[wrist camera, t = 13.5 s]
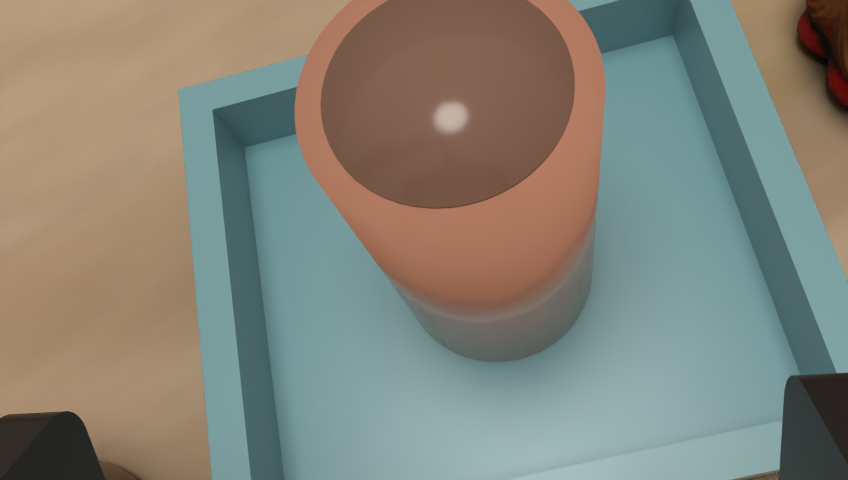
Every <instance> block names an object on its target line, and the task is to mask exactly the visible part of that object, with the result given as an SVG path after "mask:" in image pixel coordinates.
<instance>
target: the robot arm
mask: <svg viewBox="0 0 848 480" xmlns="http://www.w3.org/2000/svg"><path fill="white" fill-rule="evenodd" d="M0 480H106V479H105V477H104V474H103V472H102V469H101V466H100V464H99V461H98V459H97V456H96V453H95V451H94V448H93V445H92V443H91V440H90V438H89V435H88V432H87V430H86V427H85V425H84V423H83V422H82V420H81V419H80V418H79V417H78V416H77V415H76V414H74V413H73V412H69V411H65V412H46V413H27V414H9V415H6V416H3V417H2V418H0ZM779 480H848V373H829V374H810V375H791V376H790V377H789V378H788V379H787V382H786V385H785V390H784V403H783V419H782V436H781V453H780V469H779Z"/></svg>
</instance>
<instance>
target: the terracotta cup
mask: <svg viewBox="0 0 848 480" xmlns="http://www.w3.org/2000/svg"><path fill="white" fill-rule="evenodd" d="M605 91H606V87H605V70H604V66H603V61H602V56H601V52H600V50H599V47H598V44H597V42H596V39H595V37H594V35H593V33H592V31H591V29H590V28H589V26H588V24H587V22H586V21H585V19H584V18H583V17H582V16H581V14H580V13H579V12H578V11H577V9H576V8H575V7H574V6H573V5H572V4H571V3H570V2H569V1H568V0H352V1H351V2H350V3H349V4H348V5H347V6H345V7H344V8H343V9H342V10H341V11H340V12H339V13H338V14H337V15H336V16H335V17H334V18H333V19H332V20H331V22H330V23H329V24H328V25H327V26H326V27H325V29H324V30H323V31H322V33H321V34H320V36H319V37H318V39H317V40H316V41H315V43H314V45H313V47H312V49H311V50H310V52H309V54H308V56H307V58H306V61H305V63H304V66H303V68H302V71H301V74H300V77H299V82H298V86H297V90H296V98H295V108H294V111H295V128H296V133H297V138H298V143H299V146H300V149H301V152H302V155H303V157H304V160H305V162H306V164H307V166H308V168H309V169H310V171H311V173H312V175H313V177H314V178H315V179H316V181H317V182H318V184H319V185H320V186H321V188H322V189H323V190H324V192H325V193H326V195H327V196H328V197H329V199H330V200H331V201H332V203H333V204H334V206H335V207H336V208H337V210H338V211H339V212H340V214H341V215H342V217H343V218H344V219H345V221H346V222H347V223H348V225H349V226H350V228H351V229H352V230H353V232H354V233H355V234H356V236H357V237H358V239H359V240H360V241H361V243H362V244H363V245H364V247H365V248H366V250H367V251H368V252H369V254H370V255H371V257H372V258H373V259H374V261H375V262H376V263H377V265H378V266H379V268H380V269H381V270H382V272H383V273H384V274H385V276H386V277H387V279H388V280H389V281H390V283H391V284H392V285H393V287H394V288H395V290H396V291H397V292H398V294H399V295H400V296H401V298H402V299H403V301H404V302H405V303H406V305H407V306H408V307H409V309H410V310H411V312H412V313H413V314H414V316H415V317H416V318H417V320H418V321H419V323H420V324H421V325H422V327H423V328H424V329H425V331H426V332H427V333H428V334H429V335H430V336H431V337H432V338H433V339H434V340H436V341H437V342H438V343H440V344H441V345H442V346H443V347H445V348H447V349H449V350H450V351H452V352H454V353H456V354H459V355H461V356H464V357H466V358H470V359H474V360H478V361H485V362H507V361H515V360H519V359H523V358H526V357H529V356H532V355H534V354H537V353H539V352H541V351H543V350H545V349H546V348H548V347H550V346H551V345H553V344H554V343H555V342H557V341H558V340H559V339H560V338H562V337H563V336H564V335H565V334H566V333H567V332H568V331H569V330H570V329H571V327H572V326H573V325H574V323H575V322H576V321H577V319H578V318H579V316H580V314H581V312H582V310H583V309H584V306H585V304H586V301H587V299H588V296H589V292H590V287H591V281H592V269H593V256H594V242H595V228H596V214H597V201H598V187H599V173H600V159H601V146H602V132H603V118H604V104H605Z"/></svg>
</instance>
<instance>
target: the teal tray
mask: <svg viewBox="0 0 848 480" xmlns="http://www.w3.org/2000/svg"><path fill="white" fill-rule="evenodd" d="M568 1H569V2H570V3H571V4H572V5H573V6H574V7H575V8H576V9H577V11H578V12H579V13H580V14H581V16H582V17H583V18H584V19H585V21H586V22H587V24H588V26H589V28H590V29H591V31H592V33H593V35H594V37H595V39H596V42H597V44H598V47H599V50H600V52H601V56H602V61H603V66H604V70H605V87H606V91H605V104H604V118H603V132H602V146H601V159H600V173H599V187H598V201H597V214H596V228H595V242H594V256H593V269H592V281H591V287H590V292H589V296H588V299H587V301H586V304H585V306H584V309H583V310H582V312H581V314H580V316H579V318H578V319H577V321H576V322H575V323H574V325H573V326H572V327H571V329H570V330H569V331H568V332H567V333H566V334H565V335H564V336H563V337H562V338H560V339H559V340H558V341H557V342H555V343H554V344H553V345H551V346H550V347H548V348H546V349H545V350H543V351H541V352H539V353H537V354H534V355H532V356H529V357H526V358H523V359H519V360H515V361H507V362H485V361H478V360H474V359H470V358H466V357H464V356H461V355H459V354H456V353H454V352H452V351H450V350H449V349H447V348H445V347H443V346H442V345H441V344H440V343H438V342H437V341H436V340H434V339H433V338H432V337H431V336H430V335H429V334H428V333H427V332H426V331H425V329H424V328H423V327H422V325H421V324H420V323H419V321H418V320H417V318H416V317H415V316H414V314H413V313H412V312H411V310H410V309H409V307H408V306H407V305H406V303H405V302H404V301H403V299H402V298H401V296H400V295H399V294H398V292H397V291H396V290H395V288H394V287H393V285H392V284H391V283H390V281H389V280H388V279H387V277H386V276H385V274H384V273H383V272H382V270H381V269H380V268H379V266H378V265H377V263H376V262H375V261H374V259H373V258H372V257H371V255H370V254H369V252H368V251H367V250H366V248H365V247H364V245H363V244H362V243H361V241H360V240H359V239H358V237H357V236H356V234H355V233H354V232H353V230H352V229H351V228H350V226H349V225H348V223H347V222H346V221H345V219H344V218H343V217H342V215H341V214H340V212H339V211H338V210H337V208H336V207H335V206H334V204H333V203H332V201H331V200H330V199H329V197H328V196H327V195H326V193H325V192H324V190H323V189H322V188H321V186H320V185H319V184H318V182H317V181H316V179H315V178H314V177H313V175H312V173H311V171H310V169H309V168H308V166H307V164H306V162H305V160H304V157H303V155H302V152H301V149H300V146H299V143H298V138H297V133H296V128H295V111H294V108H295V98H296V90H297V86H298V82H299V77H300V74H301V71H302V68H303V66H304V63H305V61H306V58H307V56H308V55H305V56H301V57H297V58H294V59H290V60H286V61H283V62H279V63H275V64H272V65H268V66H264V67H260V68H257V69H253V70H249V71H246V72H242V73H238V74H235V75H231V76H227V77H224V78H220V79H216V80H213V81H209V82H205V83H202V84H198V85H194V86H191V87H187V88H183V89H180V90H178V94H179V105H180V117H181V128H182V140H183V151H184V163H185V175H186V186H187V198H188V209H189V221H190V232H191V244H192V255H193V267H194V278H195V290H196V301H197V313H198V325H199V336H200V348H201V359H202V371H203V382H204V394H205V405H206V417H207V428H208V440H209V451H210V463H211V474H212V480H747V479H752V478H757V477H761V476H766V475H771V474H776V473H779V469H780V453H781V436H782V419H783V403H784V390H785V385H786V382H787V379H788V378H789V377H790V376H791V375H810V374H829V373H848V281H847V279H846V276H845V274H844V272H843V269H842V267H841V264H840V262H839V260H838V257H837V255H836V252H835V250H834V248H833V245H832V243H831V240H830V238H829V236H828V233H827V231H826V228H825V226H824V224H823V221H822V219H821V216H820V214H819V212H818V209H817V207H816V204H815V202H814V200H813V197H812V195H811V192H810V190H809V188H808V185H807V183H806V180H805V178H804V176H803V173H802V171H801V168H800V166H799V164H798V161H797V159H796V156H795V154H794V152H793V149H792V147H791V145H790V142H789V140H788V137H787V135H786V133H785V130H784V128H783V125H782V123H781V121H780V118H779V116H778V113H777V111H776V109H775V106H774V104H773V101H772V99H771V97H770V94H769V92H768V89H767V87H766V85H765V82H764V80H763V77H762V75H761V73H760V70H759V68H758V65H757V63H756V61H755V58H754V56H753V53H752V51H751V49H750V46H749V44H748V41H747V39H746V37H745V34H744V32H743V29H742V27H741V25H740V22H739V20H738V17H737V15H736V13H735V10H734V8H733V5H732V3H731V1H730V0H568Z"/></svg>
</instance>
